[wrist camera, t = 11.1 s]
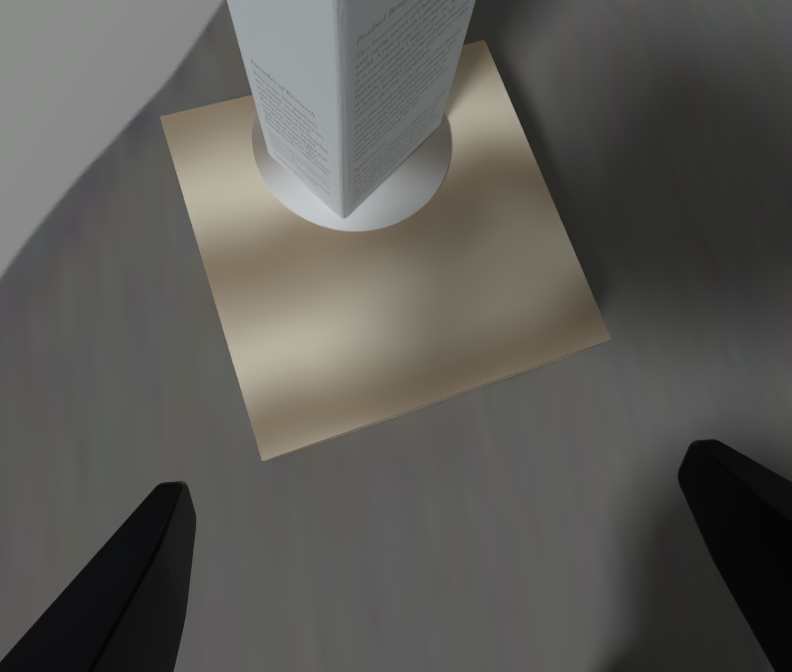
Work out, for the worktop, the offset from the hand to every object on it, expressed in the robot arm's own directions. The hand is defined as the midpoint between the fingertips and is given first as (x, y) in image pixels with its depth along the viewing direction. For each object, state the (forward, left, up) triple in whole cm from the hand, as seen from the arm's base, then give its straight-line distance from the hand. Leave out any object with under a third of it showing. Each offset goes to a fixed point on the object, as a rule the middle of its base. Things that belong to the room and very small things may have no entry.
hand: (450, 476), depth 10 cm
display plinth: (+9, -3, -14) cm, 16 cm away
